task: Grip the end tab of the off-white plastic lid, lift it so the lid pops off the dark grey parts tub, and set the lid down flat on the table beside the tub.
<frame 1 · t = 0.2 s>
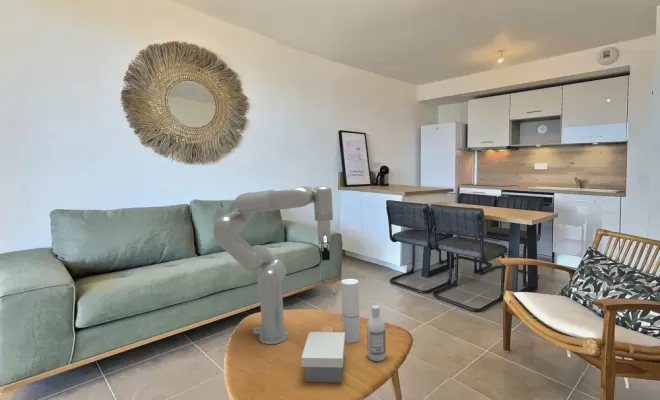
hand: (325, 256, 142), 36 cm above the table, tool pointing down, fingers open, 9 cm apart
cylindrical container: (351, 338, 145), on the table
bath foam: (376, 357, 130), on the table
lid: (324, 352, 123), point 6 cm above the table, touching tub
tub: (325, 368, 124), on the table
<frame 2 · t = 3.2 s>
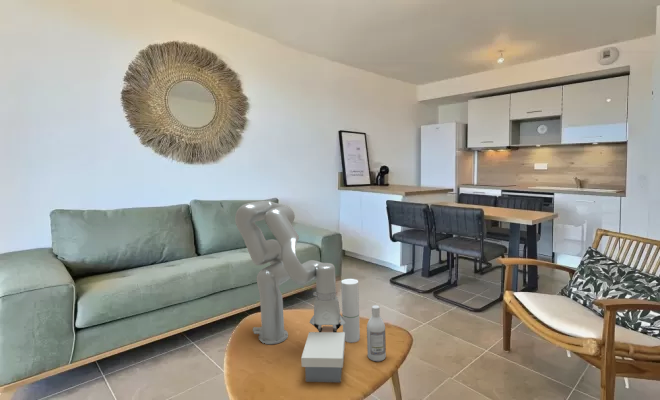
hand: (328, 338, 135), 5 cm above the table, tool pointing down, fingers closed on lid, 4 cm apart
lid: (324, 352, 123), point 6 cm above the table, touching gripper, tub
everything else where it was.
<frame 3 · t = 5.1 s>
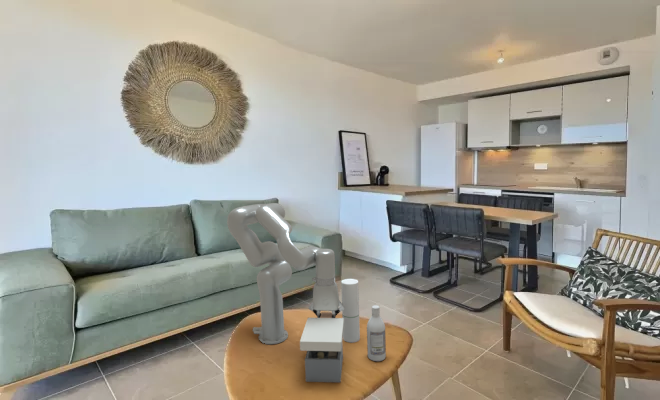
hand: (326, 324, 135), 11 cm above the table, tool pointing down, fingers closed on lid, 4 cm apart
lid: (323, 337, 123), point 12 cm above the table, touching gripper
everything else where it was.
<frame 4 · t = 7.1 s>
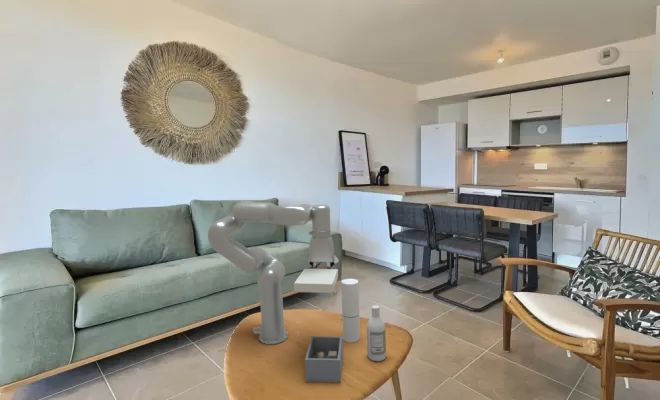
hand: (322, 276, 144), 27 cm above the table, tool pointing down, fingers closed on lid, 4 cm apart
lid: (317, 283, 132), point 28 cm above the table, touching gripper
everything else where it was.
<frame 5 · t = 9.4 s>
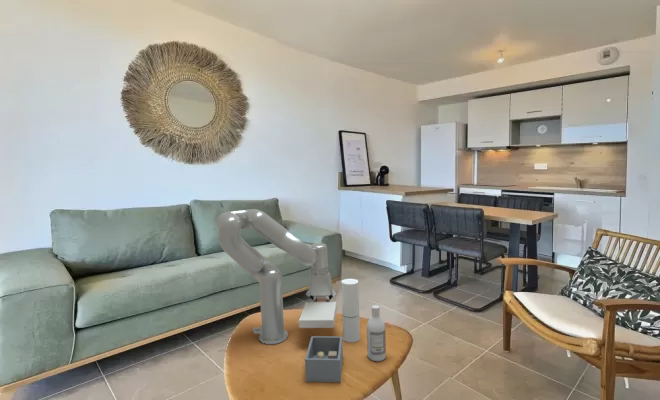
hand: (322, 308, 158), 8 cm above the table, tool pointing down, fingers closed on lid, 4 cm apart
lid: (319, 317, 146), point 9 cm above the table, touching gripper
everything else where it was.
when the fingers open (1 cm above the table, at t = 11.0 s): lid drops 2 cm, on the table.
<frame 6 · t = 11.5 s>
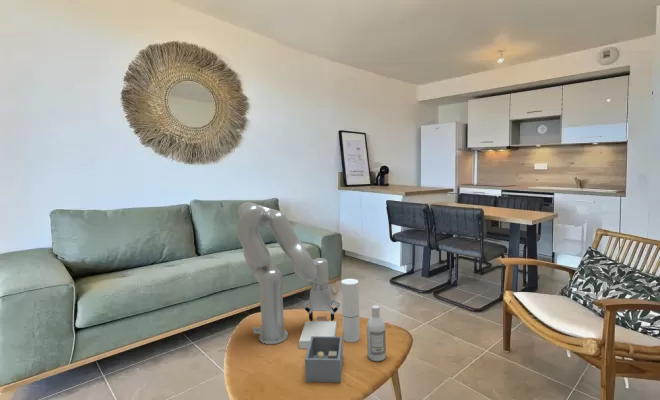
hand: (321, 321, 158), 2 cm above the table, tool pointing down, fingers open, 9 cm apart
lid: (319, 337, 146), on the table
everything else where it was.
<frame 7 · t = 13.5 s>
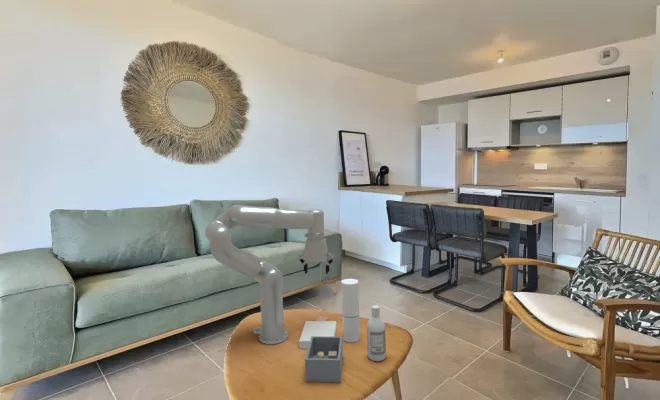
hand: (316, 273, 157), 25 cm above the table, tool pointing down, fingers open, 9 cm apart
nothing on the table moved.
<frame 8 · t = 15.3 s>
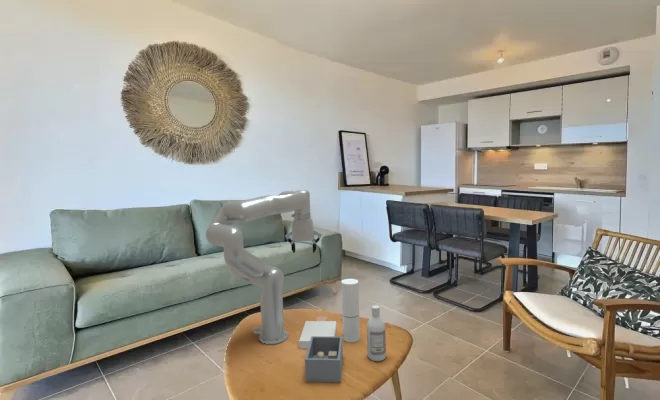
hand: (304, 252, 162), 33 cm above the table, tool pointing down, fingers open, 9 cm apart
nothing on the table moved.
at the end: lid inside the target area (0.2 cm from its centre), on the table; lid moved 23.5 cm from its start; the gripper is holding nothing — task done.
